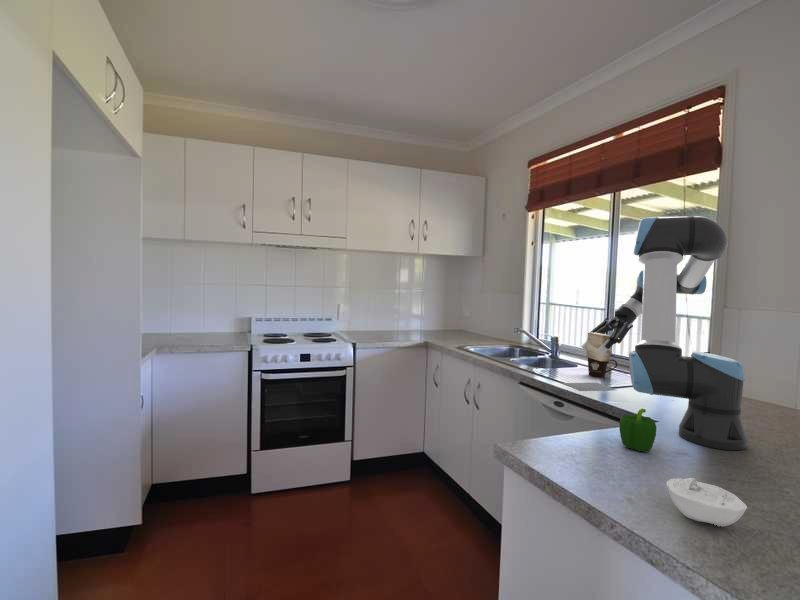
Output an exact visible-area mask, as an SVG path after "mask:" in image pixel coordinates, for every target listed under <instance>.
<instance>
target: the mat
mask: <svg viewBox="0 0 800 600" xmlns="http://www.w3.org/2000/svg"><path fill="white" fill-rule="evenodd" d="M562 385H565V386H568V387H570V388H572V389H575V390H576V391H579V392H592V391H593V392H595V391H597V392H599V391H616V389H615V388H612V387H610V386H607V385H605V384H602V383H599V382H596V381H595V382H562Z"/></svg>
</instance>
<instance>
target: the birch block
mask: <svg viewBox="0 0 800 600" xmlns="http://www.w3.org/2000/svg"><path fill="white" fill-rule="evenodd" d="M611 335H612V334H611ZM611 335H610V334H607V333H605V334H601V333H590V332H587V339H586V341H587V351H586V355H585V356H586V358H587V359H588V358H592V359H595V360H598V361H610V360H611V353H612V352H611V349H612V346H611V347H610V348H609V349H608V350H607V351H606V352H605V353H604V354H603V355H602V356H601V355H600V354H599V353H598V352H597V350H598V349H599V348H600V347H601V345H602V344H603V343H604V342H605V341H606V340H607V339H609V338H610V337H611ZM609 340H610V339H609ZM610 362H611V361H610Z"/></svg>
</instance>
